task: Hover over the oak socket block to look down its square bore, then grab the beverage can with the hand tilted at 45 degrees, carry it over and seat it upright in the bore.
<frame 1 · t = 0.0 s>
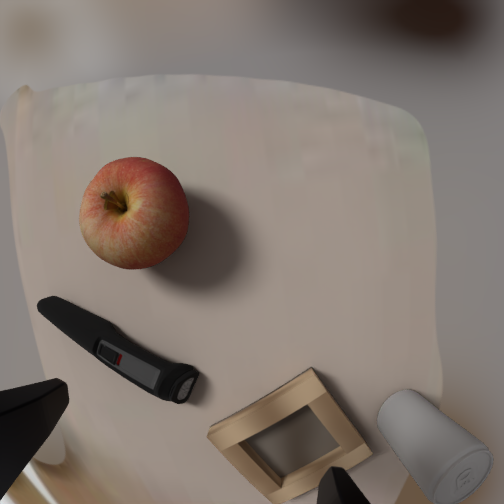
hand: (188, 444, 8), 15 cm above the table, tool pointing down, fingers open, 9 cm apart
beverage can: (397, 410, 22), on the table
socket block: (292, 439, 22), on the table
electric trimmer: (119, 346, 24), on the table
apple: (152, 221, 24), on the table
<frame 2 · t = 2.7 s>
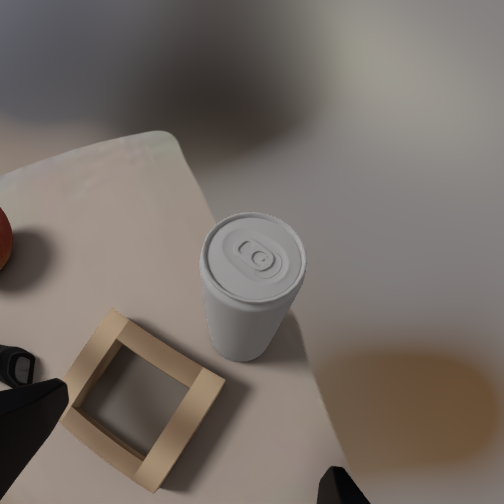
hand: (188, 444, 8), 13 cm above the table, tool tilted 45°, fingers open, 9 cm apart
beverage can: (239, 334, 23), on the table
socket block: (134, 401, 19), on the table
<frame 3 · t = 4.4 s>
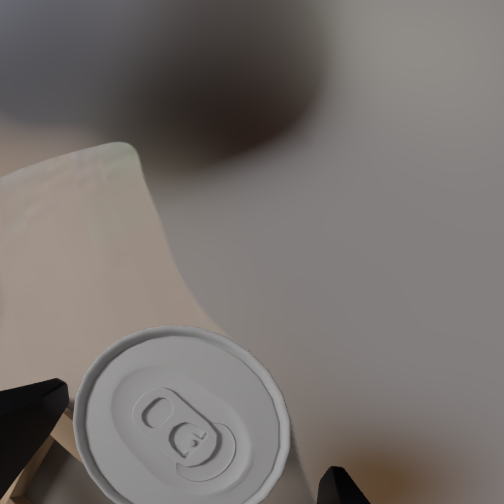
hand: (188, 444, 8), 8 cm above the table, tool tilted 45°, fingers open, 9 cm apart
beverage can: (206, 429, 15), on the table
socket block: (79, 499, 11), on the table
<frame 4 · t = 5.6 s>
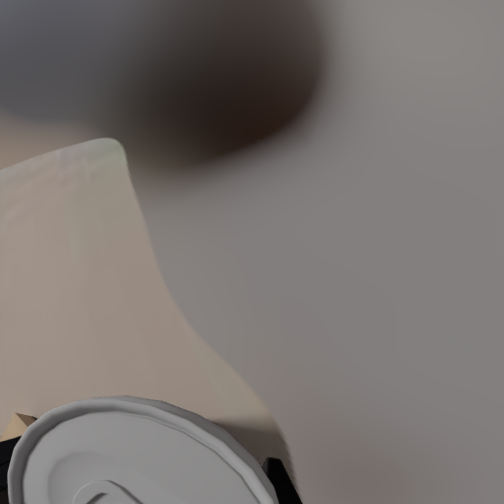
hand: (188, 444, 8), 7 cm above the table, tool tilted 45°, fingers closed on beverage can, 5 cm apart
beverage can: (194, 460, 13), on the table, touching gripper
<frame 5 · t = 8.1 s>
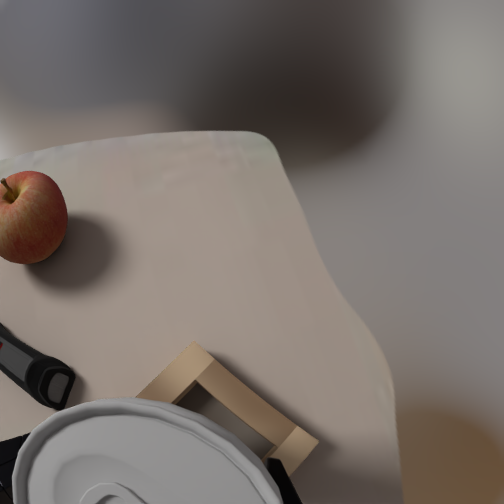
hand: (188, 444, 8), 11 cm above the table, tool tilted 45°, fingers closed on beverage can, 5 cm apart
beverage can: (191, 458, 13), point 4 cm above the table, touching gripper
socket block: (201, 449, 16), on the table
electric trimmer: (7, 353, 18), on the table
apple: (42, 243, 23), on the table
when the fingers open (8 cm above the table, at t = 9.1 s): beverage can stays where it is, resting on socket block.
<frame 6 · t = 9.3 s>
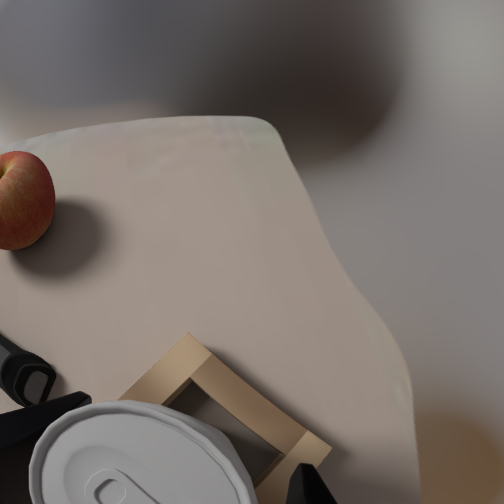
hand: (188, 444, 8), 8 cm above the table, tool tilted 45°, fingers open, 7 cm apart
beverage can: (192, 459, 14), resting on socket block
socket block: (197, 457, 14), on the table
apple: (29, 229, 21), on the table
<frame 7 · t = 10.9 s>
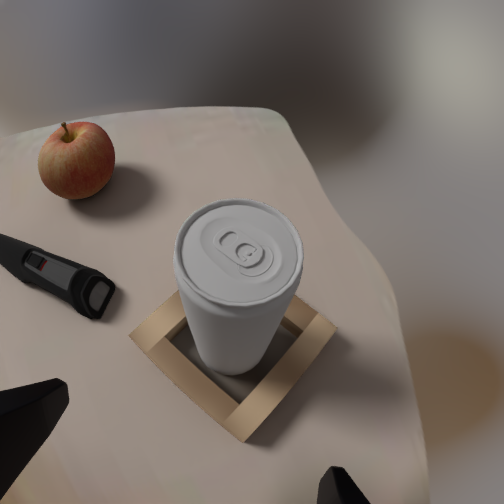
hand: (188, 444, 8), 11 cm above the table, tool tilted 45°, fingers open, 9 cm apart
beverage can: (230, 344, 21), resting on socket block
socket block: (233, 343, 21), on the table
electric trimmer: (45, 277, 22), on the table
apple: (86, 187, 28), on the table
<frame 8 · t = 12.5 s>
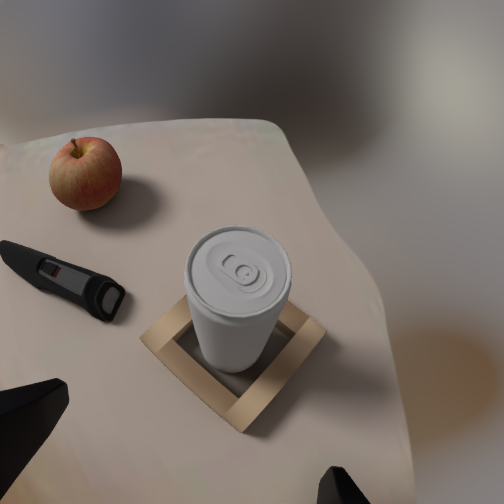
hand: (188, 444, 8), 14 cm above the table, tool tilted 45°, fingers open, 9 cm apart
beverage can: (230, 345, 23), resting on socket block
socket block: (233, 344, 23), on the table
electric trimmer: (58, 283, 25), on the table
apple: (94, 198, 30), on the table
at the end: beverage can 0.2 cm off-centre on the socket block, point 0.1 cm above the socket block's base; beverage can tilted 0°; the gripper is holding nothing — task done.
